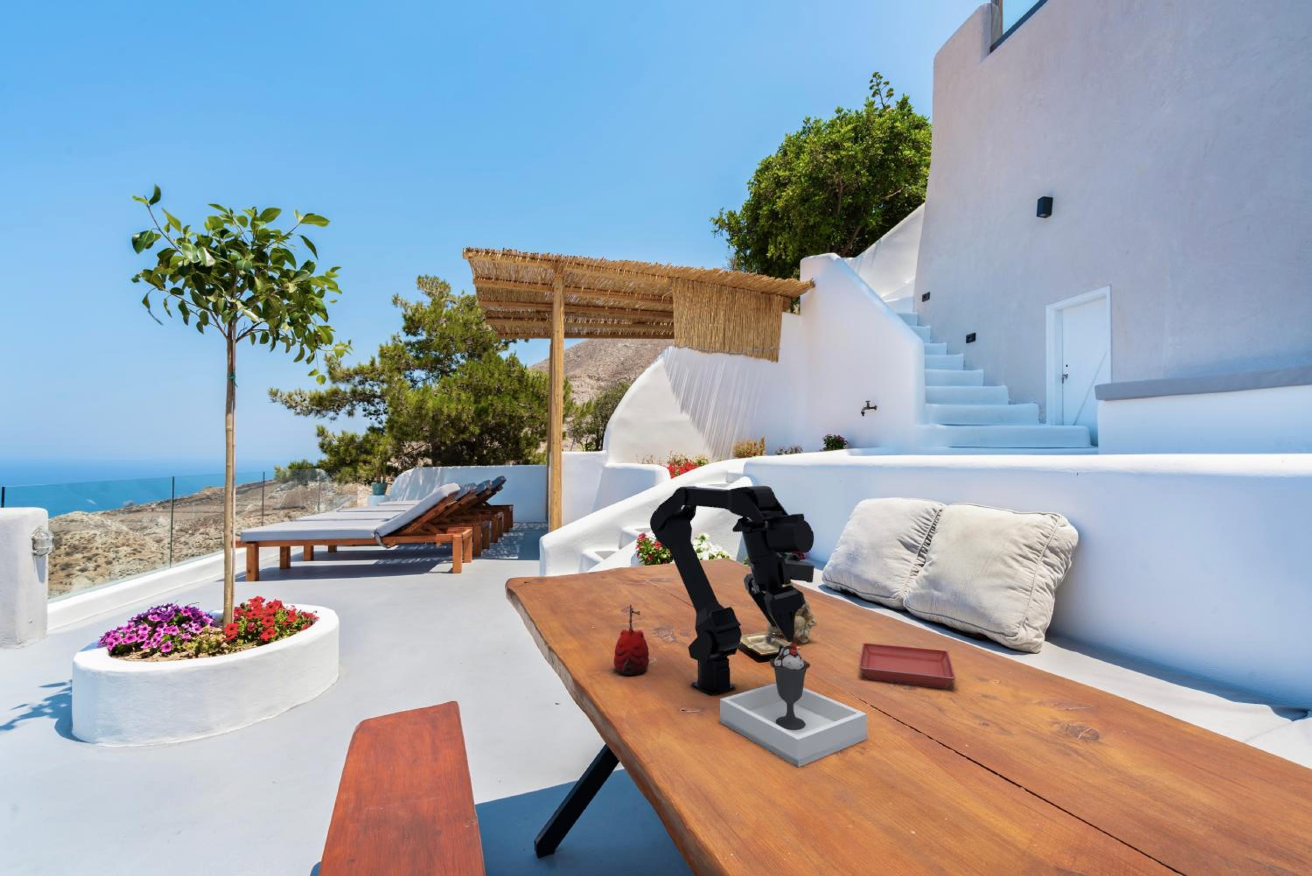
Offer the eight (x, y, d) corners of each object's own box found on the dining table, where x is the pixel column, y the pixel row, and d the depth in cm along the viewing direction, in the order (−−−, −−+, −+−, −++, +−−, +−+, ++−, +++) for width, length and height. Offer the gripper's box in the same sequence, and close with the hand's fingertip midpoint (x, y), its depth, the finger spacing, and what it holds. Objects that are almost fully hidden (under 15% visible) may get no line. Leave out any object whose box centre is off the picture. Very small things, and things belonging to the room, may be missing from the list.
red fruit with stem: (650, 666, 130) (650, 598, 130) (646, 678, 123) (646, 606, 123) (616, 665, 130) (616, 597, 131) (610, 677, 123) (610, 605, 124)
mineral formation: (779, 631, 157) (778, 574, 158) (823, 642, 147) (822, 581, 148) (760, 637, 152) (760, 578, 152) (805, 649, 142) (804, 586, 142)
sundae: (806, 735, 94) (804, 641, 95) (765, 727, 97) (764, 636, 98) (815, 720, 100) (813, 631, 101) (776, 712, 103) (775, 626, 104)
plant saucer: (858, 682, 121) (858, 666, 121) (862, 655, 138) (862, 641, 138) (956, 695, 114) (956, 678, 114) (948, 665, 131) (948, 650, 131)
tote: (720, 722, 102) (720, 699, 102) (785, 701, 110) (785, 680, 111) (798, 767, 87) (798, 739, 87) (867, 739, 95) (866, 714, 96)
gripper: (822, 549, 101) (844, 637, 101) (787, 534, 119) (805, 608, 120) (761, 566, 100) (783, 655, 100) (735, 548, 118) (753, 623, 118)
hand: (782, 633), depth 109 cm, fingers open, 9 cm apart
